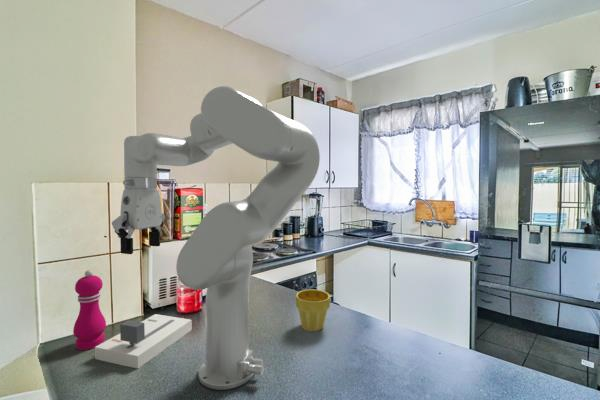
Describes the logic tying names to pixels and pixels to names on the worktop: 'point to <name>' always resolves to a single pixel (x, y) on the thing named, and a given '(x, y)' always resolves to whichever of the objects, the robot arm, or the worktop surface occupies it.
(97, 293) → the pepper mill
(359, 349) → the worktop surface
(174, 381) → the worktop surface
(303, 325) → the plant pot
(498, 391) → the worktop surface
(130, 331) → the fader cap
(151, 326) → the slotted white slab
